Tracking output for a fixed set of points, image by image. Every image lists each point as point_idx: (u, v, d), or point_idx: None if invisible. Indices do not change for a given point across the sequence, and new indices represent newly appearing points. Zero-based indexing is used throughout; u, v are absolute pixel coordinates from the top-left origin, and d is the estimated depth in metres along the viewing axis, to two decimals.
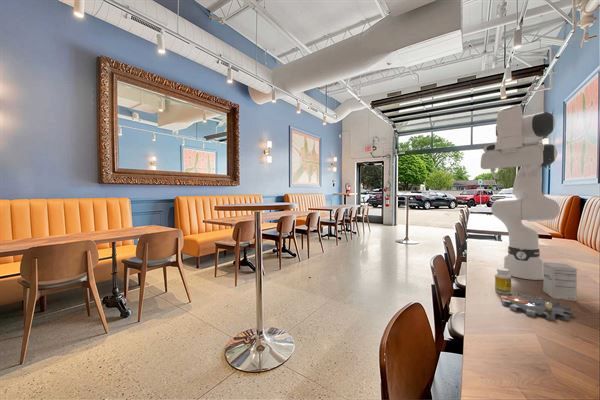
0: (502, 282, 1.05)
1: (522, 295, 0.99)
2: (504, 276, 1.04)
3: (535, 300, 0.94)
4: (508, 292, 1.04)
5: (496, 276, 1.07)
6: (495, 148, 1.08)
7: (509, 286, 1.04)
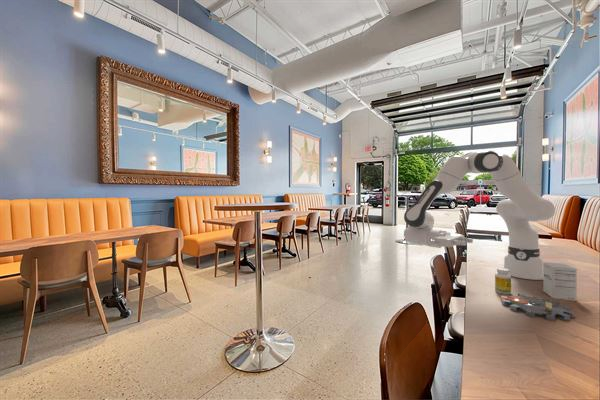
0: (502, 282, 1.05)
1: (522, 295, 0.99)
2: (504, 276, 1.04)
3: (535, 300, 0.94)
4: (508, 292, 1.04)
5: (496, 276, 1.07)
6: None
7: (509, 286, 1.04)
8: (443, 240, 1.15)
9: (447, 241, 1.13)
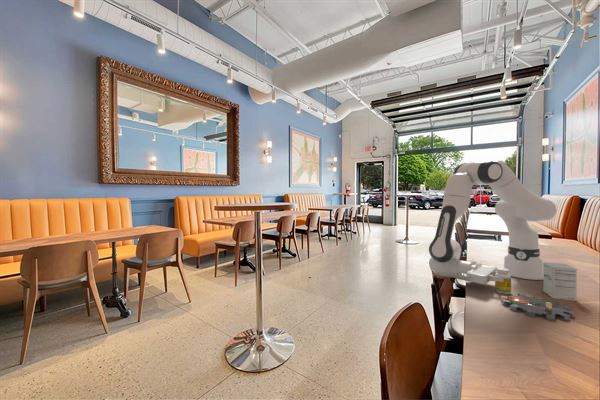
0: None
1: (522, 295, 0.99)
2: (504, 276, 1.04)
3: (535, 300, 0.94)
4: (508, 292, 1.04)
5: None
6: None
7: (509, 286, 1.04)
8: (477, 276, 1.05)
9: (482, 278, 1.04)
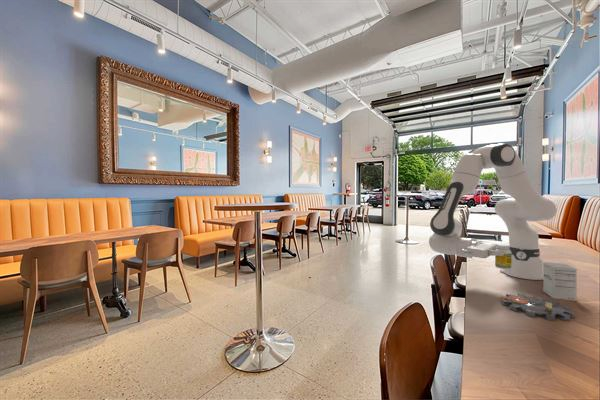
0: (503, 257, 1.04)
1: (522, 295, 0.99)
2: (504, 251, 1.04)
3: (535, 300, 0.94)
4: (508, 267, 1.03)
5: None
6: None
7: (509, 262, 1.03)
8: (477, 250, 1.04)
9: (482, 252, 1.03)
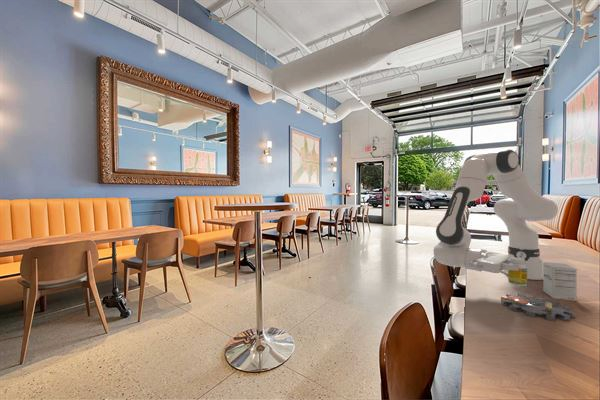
0: (517, 272, 0.92)
1: (522, 295, 0.99)
2: (519, 266, 0.92)
3: (535, 300, 0.94)
4: (523, 284, 0.92)
5: None
6: None
7: (525, 278, 0.92)
8: (489, 264, 0.93)
9: (494, 266, 0.91)
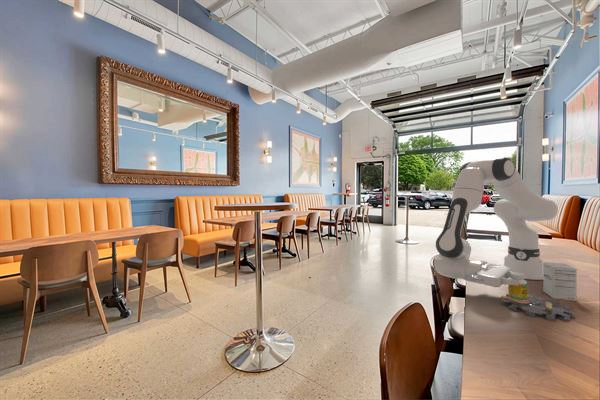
0: (517, 288, 0.93)
1: None
2: (519, 282, 0.92)
3: (535, 300, 0.94)
4: (524, 300, 0.92)
5: None
6: None
7: (525, 294, 0.92)
8: (489, 278, 0.93)
9: (495, 280, 0.92)
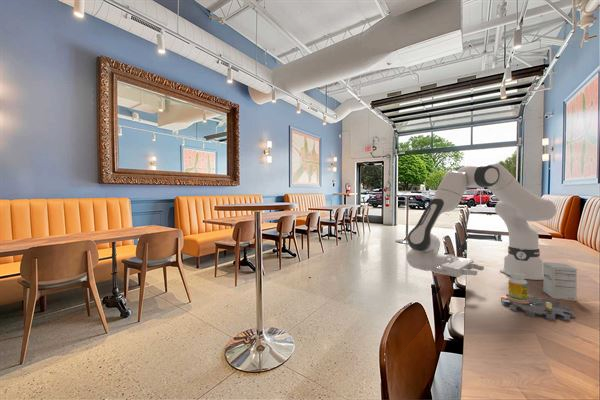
0: (518, 288, 0.93)
1: None
2: (519, 282, 0.92)
3: (535, 300, 0.94)
4: (524, 300, 0.92)
5: (510, 281, 0.95)
6: None
7: (525, 293, 0.92)
8: (451, 269, 1.03)
9: (455, 270, 1.02)
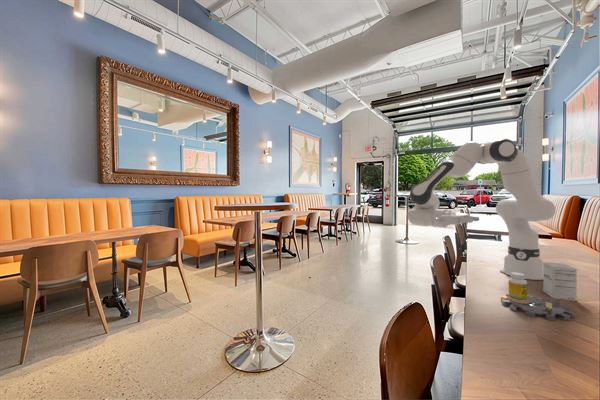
0: (518, 288, 0.93)
1: None
2: (519, 282, 0.92)
3: (535, 300, 0.94)
4: (524, 300, 0.92)
5: (510, 282, 0.95)
6: None
7: (525, 294, 0.92)
8: (448, 217, 1.11)
9: (453, 218, 1.10)
